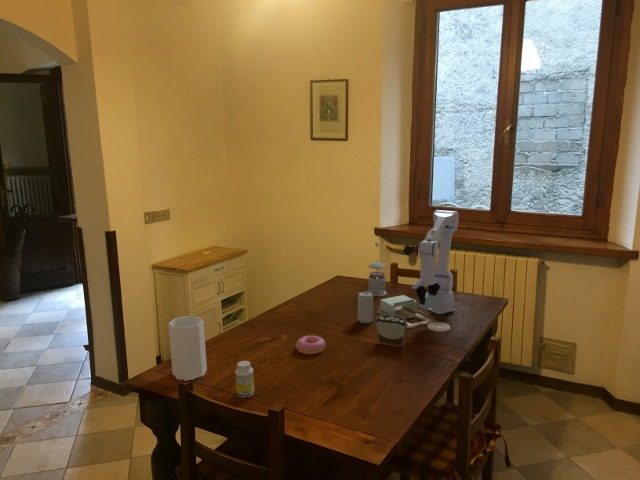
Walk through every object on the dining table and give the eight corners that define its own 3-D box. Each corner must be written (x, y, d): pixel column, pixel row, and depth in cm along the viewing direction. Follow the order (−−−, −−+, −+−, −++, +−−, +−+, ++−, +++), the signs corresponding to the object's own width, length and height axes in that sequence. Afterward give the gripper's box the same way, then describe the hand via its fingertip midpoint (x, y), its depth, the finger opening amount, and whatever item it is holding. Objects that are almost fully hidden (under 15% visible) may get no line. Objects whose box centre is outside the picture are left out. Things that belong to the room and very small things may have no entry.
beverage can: (373, 318, 220) (373, 291, 217) (373, 324, 214) (373, 296, 211) (357, 318, 221) (357, 291, 218) (357, 323, 214) (357, 296, 212)
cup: (189, 384, 166) (185, 330, 162) (165, 376, 172) (160, 323, 168) (214, 370, 175) (210, 319, 171) (190, 363, 181) (186, 313, 177)
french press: (365, 295, 250) (365, 245, 244) (367, 288, 261) (367, 239, 255) (386, 296, 248) (386, 245, 243) (387, 289, 259) (387, 240, 254)
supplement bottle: (246, 387, 164) (244, 357, 161) (258, 393, 160) (256, 362, 158) (232, 395, 159) (230, 364, 157) (244, 400, 156) (243, 369, 154)
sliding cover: (403, 305, 232) (403, 293, 230) (416, 312, 223) (416, 299, 222) (380, 310, 226) (380, 297, 225) (392, 317, 218) (393, 303, 217)
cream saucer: (440, 322, 215) (440, 320, 215) (455, 329, 207) (455, 327, 207) (422, 326, 211) (422, 324, 211) (437, 333, 203) (437, 332, 203)
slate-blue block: (426, 304, 214) (427, 292, 213) (434, 307, 210) (434, 295, 209) (418, 306, 211) (418, 294, 210) (426, 309, 208) (426, 297, 207)
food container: (410, 341, 196) (411, 316, 194) (406, 347, 191) (407, 321, 189) (379, 336, 202) (380, 311, 199) (374, 342, 196) (374, 317, 194)
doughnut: (291, 353, 188) (290, 343, 187) (302, 342, 198) (302, 331, 197) (319, 357, 184) (319, 346, 183) (329, 345, 194) (329, 335, 193)
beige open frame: (405, 307, 233) (405, 303, 232) (435, 322, 214) (435, 318, 214) (377, 313, 226) (377, 309, 226) (406, 329, 208) (406, 325, 207)
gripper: (434, 265, 214) (433, 296, 217) (407, 270, 207) (406, 303, 210) (446, 269, 208) (445, 301, 211) (418, 275, 201) (418, 308, 204)
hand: (426, 302), depth 210 cm, fingers closed on slate-blue block, 4 cm apart
